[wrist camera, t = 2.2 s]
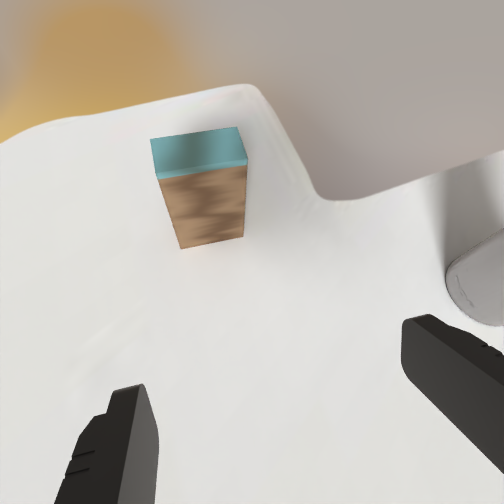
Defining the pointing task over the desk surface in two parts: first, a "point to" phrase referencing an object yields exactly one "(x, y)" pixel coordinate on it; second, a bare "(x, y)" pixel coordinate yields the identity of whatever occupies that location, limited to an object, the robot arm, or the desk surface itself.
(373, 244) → the desk surface
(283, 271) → the desk surface
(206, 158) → the walnut block
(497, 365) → the robot arm
